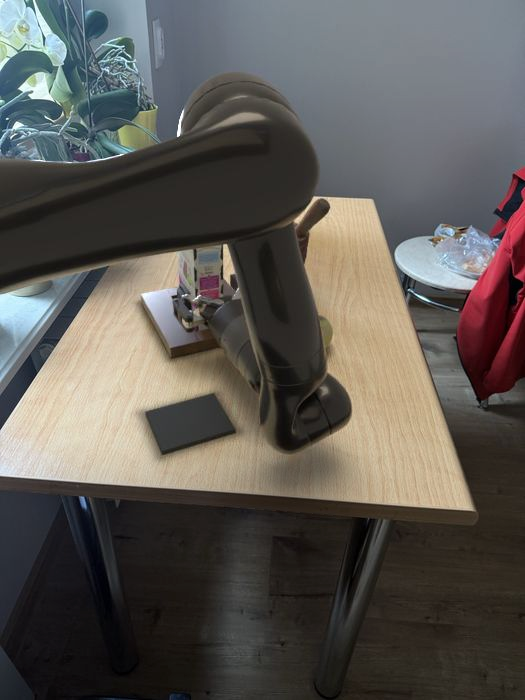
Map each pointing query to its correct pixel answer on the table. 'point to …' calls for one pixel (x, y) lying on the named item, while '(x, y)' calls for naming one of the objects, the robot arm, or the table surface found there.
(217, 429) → the mat
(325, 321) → the apple
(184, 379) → the table surface
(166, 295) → the board
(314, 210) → the mortar and pestle
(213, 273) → the candy bar box
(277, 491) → the table surface
